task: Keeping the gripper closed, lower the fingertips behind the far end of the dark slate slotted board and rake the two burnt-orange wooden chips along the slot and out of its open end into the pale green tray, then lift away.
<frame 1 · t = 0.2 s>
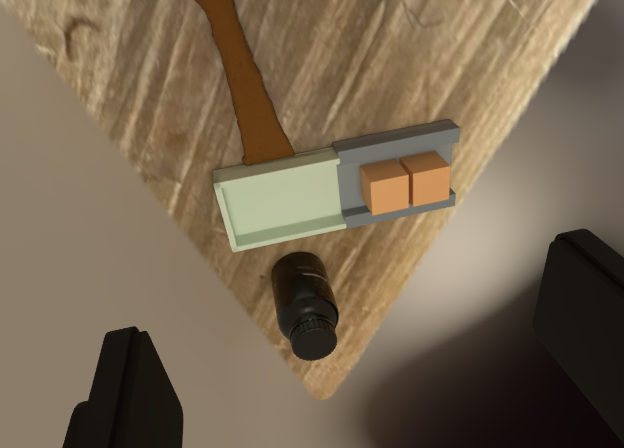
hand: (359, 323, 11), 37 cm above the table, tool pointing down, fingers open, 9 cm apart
chip a: (378, 177, 50), point 1 cm above the table, touching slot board
tray: (280, 193, 50), on the table
supplement bottle: (297, 271, 57), on the table
chip b: (417, 169, 51), point 1 cm above the table, touching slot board
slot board: (392, 170, 51), on the table
primitive tool: (251, 89, 44), on the table
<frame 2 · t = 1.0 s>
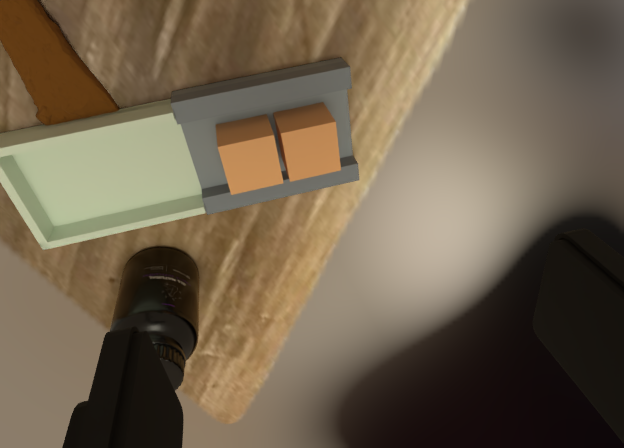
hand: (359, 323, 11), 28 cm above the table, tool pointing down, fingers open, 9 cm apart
chip a: (246, 142, 36), point 1 cm above the table, touching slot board
tray: (110, 166, 36), on the table
supplement bottle: (161, 272, 43), on the table
chip b: (301, 130, 37), point 1 cm above the table, touching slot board
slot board: (269, 132, 37), on the table
primitive tool: (24, 6, 29), on the table, touching tray
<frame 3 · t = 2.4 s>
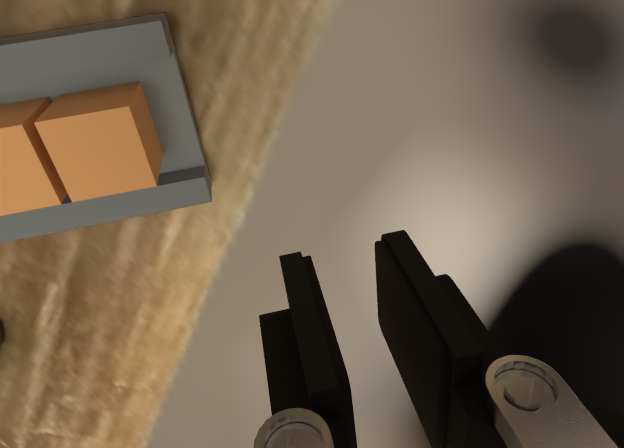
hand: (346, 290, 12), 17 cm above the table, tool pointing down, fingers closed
chip a: (26, 140, 24), point 1 cm above the table, touching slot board
chip b: (114, 125, 24), point 1 cm above the table, touching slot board
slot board: (70, 127, 25), on the table
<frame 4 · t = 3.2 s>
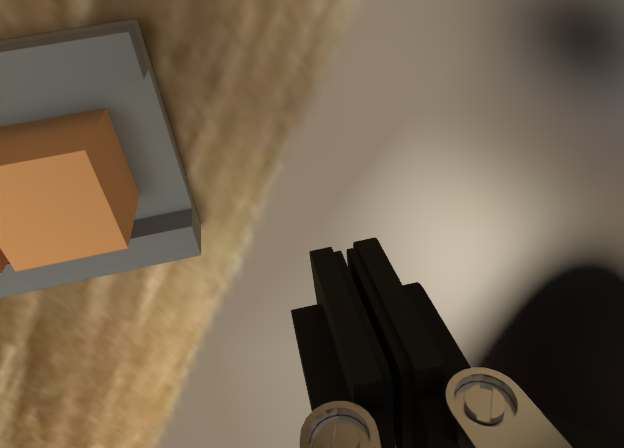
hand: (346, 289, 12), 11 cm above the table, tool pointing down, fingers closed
chip b: (74, 163, 19), point 1 cm above the table, touching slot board
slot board: (19, 164, 19), on the table
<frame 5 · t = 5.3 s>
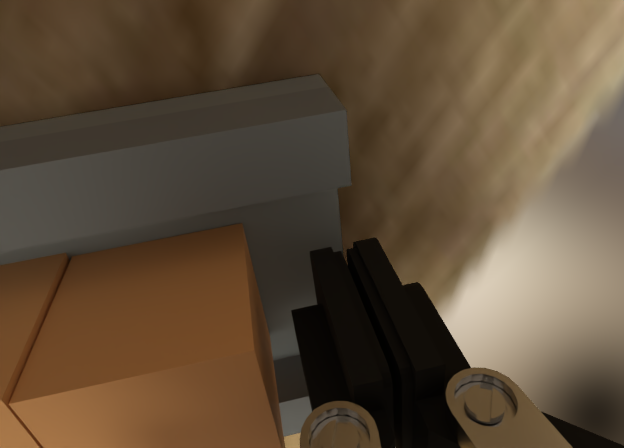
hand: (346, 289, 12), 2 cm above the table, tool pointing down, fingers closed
chip a: (16, 331, 11), point 1 cm above the table, touching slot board
chip b: (181, 300, 12), point 1 cm above the table, touching gripper, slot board
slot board: (104, 288, 12), on the table
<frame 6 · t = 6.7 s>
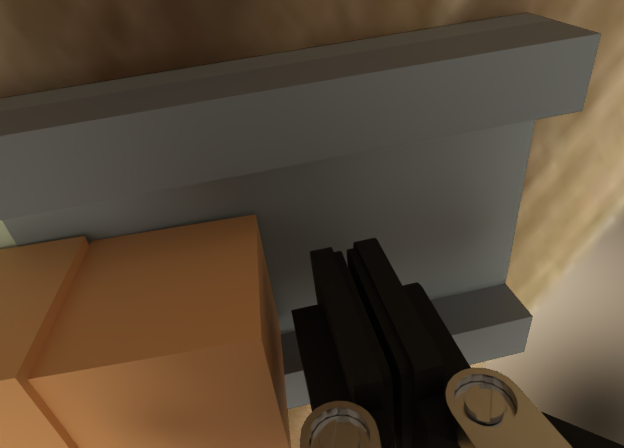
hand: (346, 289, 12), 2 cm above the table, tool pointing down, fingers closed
chip a: (37, 310, 12), point 1 cm above the table, touching chip b, tray
chip b: (195, 287, 12), point 1 cm above the table, touching chip a, gripper, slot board
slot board: (291, 226, 13), on the table
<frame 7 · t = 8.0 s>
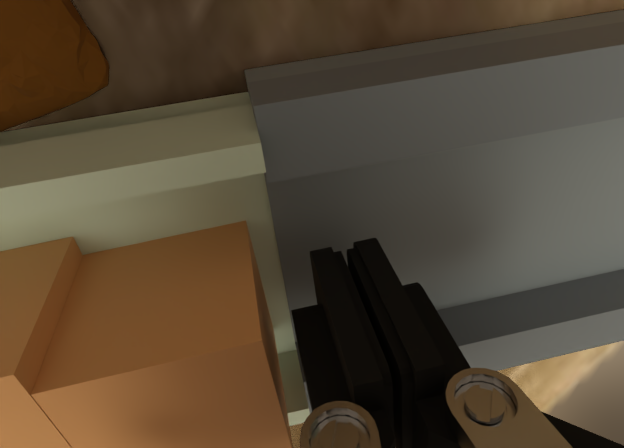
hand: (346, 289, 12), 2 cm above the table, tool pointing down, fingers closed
chip a: (26, 315, 12), point 1 cm above the table, touching tray
tray: (43, 285, 12), on the table
chip b: (188, 296, 12), point 1 cm above the table, touching gripper, tray
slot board: (489, 197, 14), on the table
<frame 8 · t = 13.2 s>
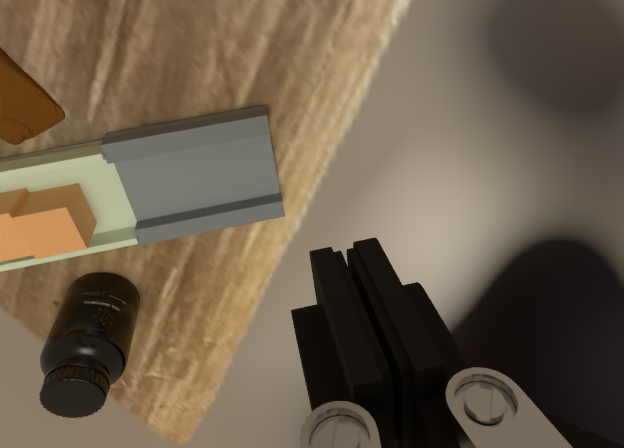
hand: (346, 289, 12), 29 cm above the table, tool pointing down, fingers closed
chip a: (13, 213, 38), point 1 cm above the table, touching tray
tray: (50, 199, 39), on the table
supplement bottle: (104, 296, 46), on the table
chip b: (64, 208, 39), point 1 cm above the table, touching tray
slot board: (200, 170, 40), on the table
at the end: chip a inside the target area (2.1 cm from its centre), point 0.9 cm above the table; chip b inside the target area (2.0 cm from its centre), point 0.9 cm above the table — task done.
